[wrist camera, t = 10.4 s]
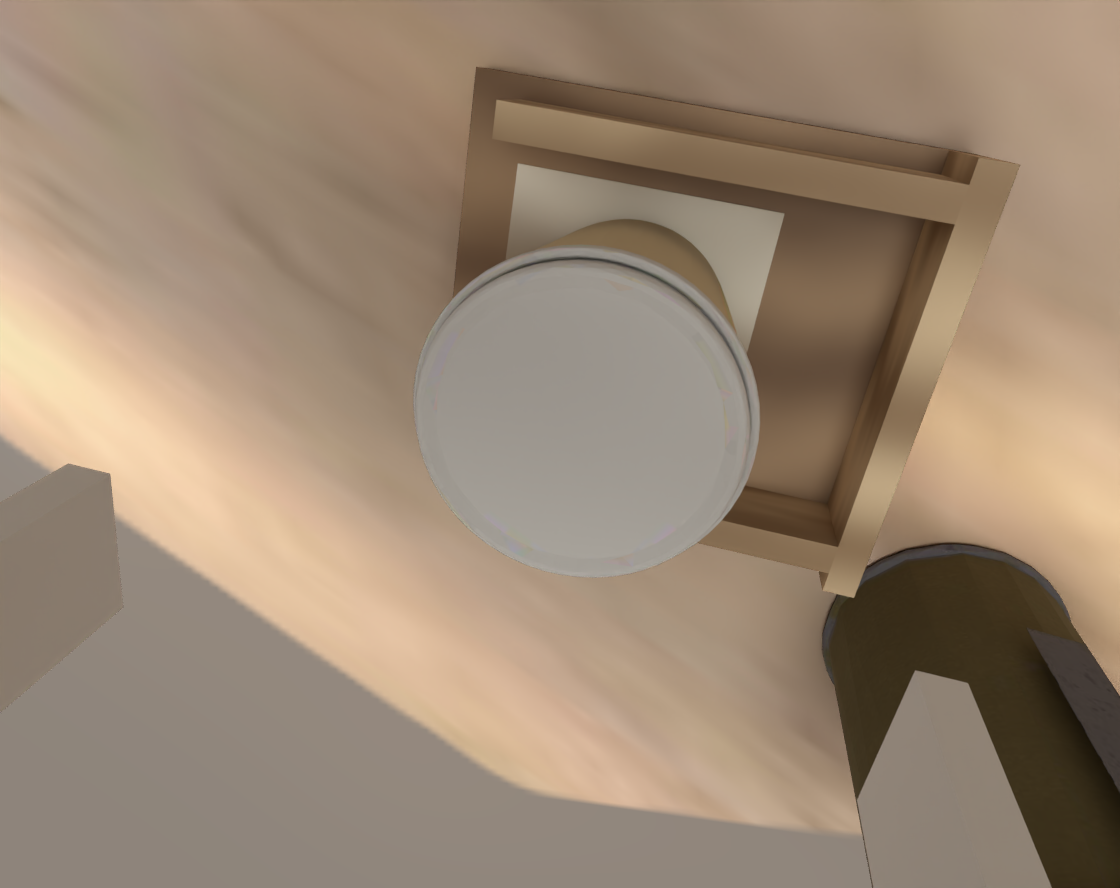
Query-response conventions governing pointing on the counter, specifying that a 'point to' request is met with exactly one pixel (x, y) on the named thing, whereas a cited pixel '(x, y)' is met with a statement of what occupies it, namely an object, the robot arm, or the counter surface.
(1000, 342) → the counter surface
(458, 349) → the coffee cup
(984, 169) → the dock
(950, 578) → the canister
